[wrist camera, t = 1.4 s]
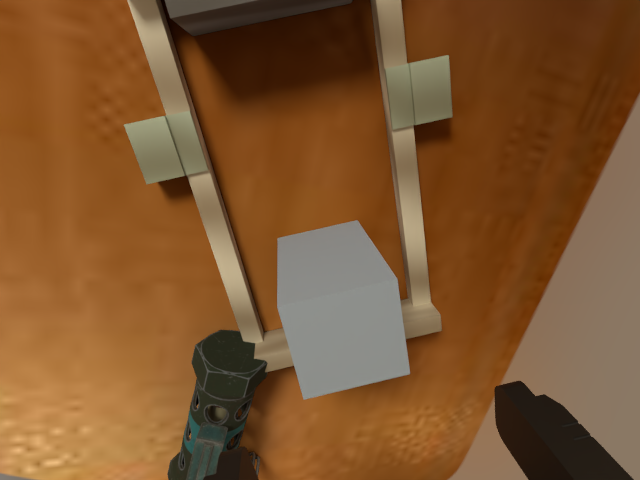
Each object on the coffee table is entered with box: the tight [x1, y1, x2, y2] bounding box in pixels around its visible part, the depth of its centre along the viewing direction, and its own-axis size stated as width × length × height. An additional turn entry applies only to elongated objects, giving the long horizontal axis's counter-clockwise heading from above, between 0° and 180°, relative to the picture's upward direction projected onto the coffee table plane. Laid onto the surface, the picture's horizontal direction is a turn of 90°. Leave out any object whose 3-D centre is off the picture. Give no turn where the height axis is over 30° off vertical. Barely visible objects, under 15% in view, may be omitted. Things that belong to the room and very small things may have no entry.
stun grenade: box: [168, 330, 268, 480], centre depth 24 cm, size 6×6×14 cm
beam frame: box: [124, 0, 452, 372], centre depth 19 cm, size 22×16×4 cm
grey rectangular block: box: [277, 220, 410, 399], centre depth 19 cm, size 5×5×8 cm
